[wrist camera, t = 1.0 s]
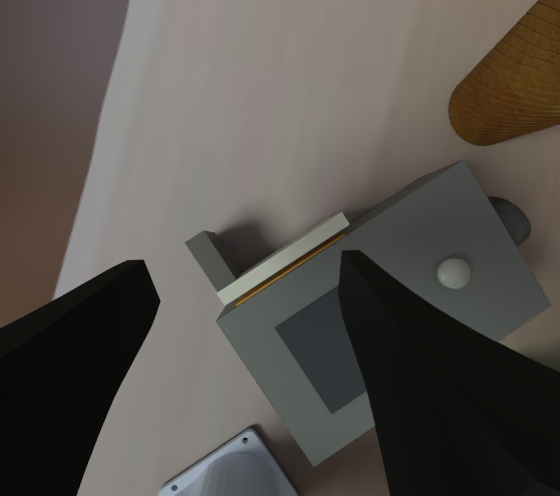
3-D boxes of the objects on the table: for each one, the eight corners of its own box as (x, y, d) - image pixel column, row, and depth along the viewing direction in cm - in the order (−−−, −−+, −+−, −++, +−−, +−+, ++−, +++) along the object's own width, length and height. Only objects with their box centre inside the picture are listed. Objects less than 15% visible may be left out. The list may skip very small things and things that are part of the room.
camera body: (303, 416, 22) (315, 475, 16) (226, 302, 21) (212, 322, 16) (506, 279, 23) (585, 291, 17) (437, 164, 22) (495, 138, 17)
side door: (233, 292, 21) (224, 305, 17) (200, 242, 21) (182, 242, 16) (332, 228, 21) (349, 224, 17) (301, 178, 21) (310, 161, 17)
